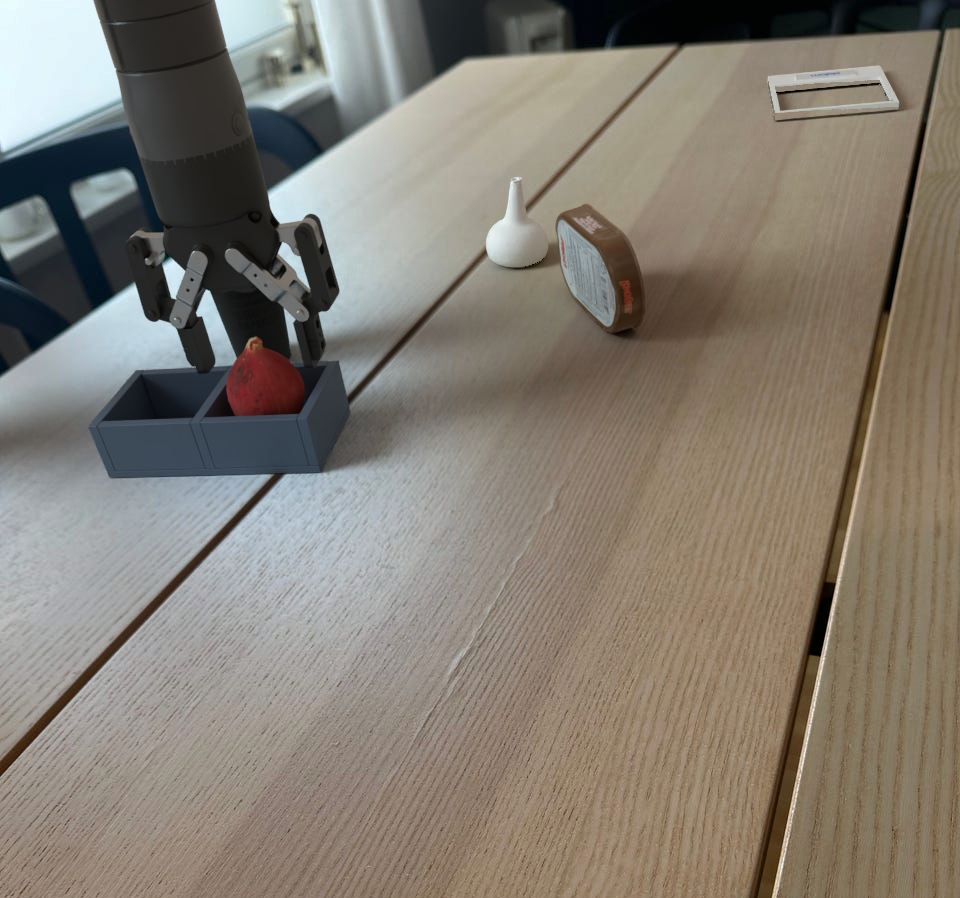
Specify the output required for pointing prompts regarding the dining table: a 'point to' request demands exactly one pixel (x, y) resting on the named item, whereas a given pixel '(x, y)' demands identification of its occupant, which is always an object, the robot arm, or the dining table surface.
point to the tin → (600, 268)
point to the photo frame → (834, 76)
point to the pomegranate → (264, 383)
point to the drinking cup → (253, 320)
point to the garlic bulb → (516, 234)
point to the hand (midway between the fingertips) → (259, 366)
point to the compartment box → (215, 426)
